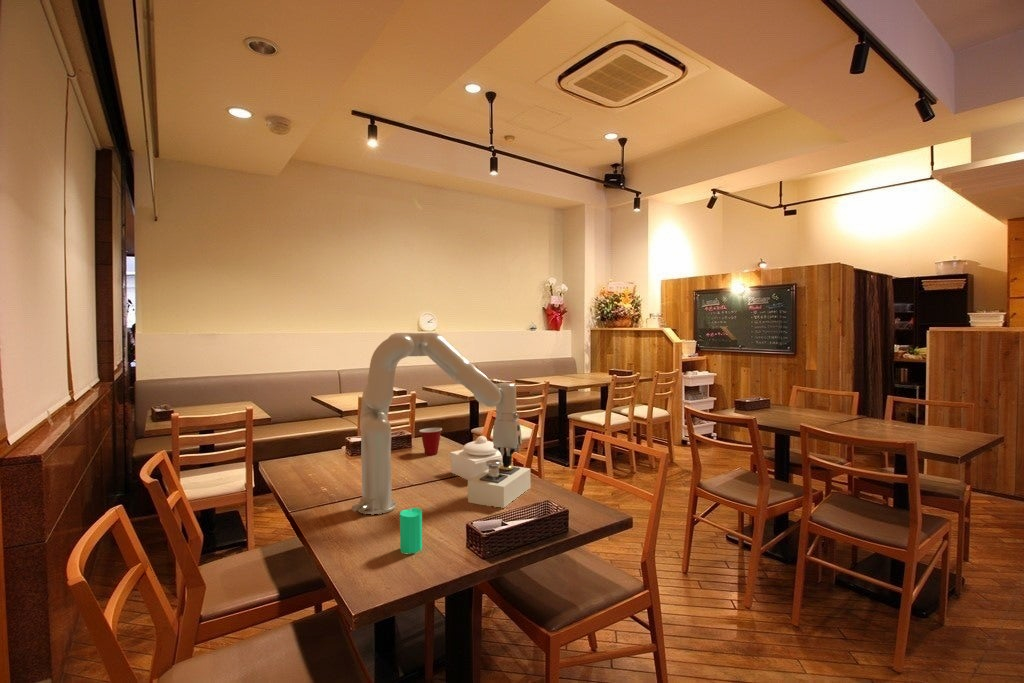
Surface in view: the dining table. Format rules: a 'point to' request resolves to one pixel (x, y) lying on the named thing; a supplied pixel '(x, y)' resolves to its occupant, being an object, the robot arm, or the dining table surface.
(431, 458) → the dining table surface
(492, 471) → the grey peg
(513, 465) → the brass-capped peg
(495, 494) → the socket block
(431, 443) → the plastic cup
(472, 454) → the butter dish
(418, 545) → the candle
